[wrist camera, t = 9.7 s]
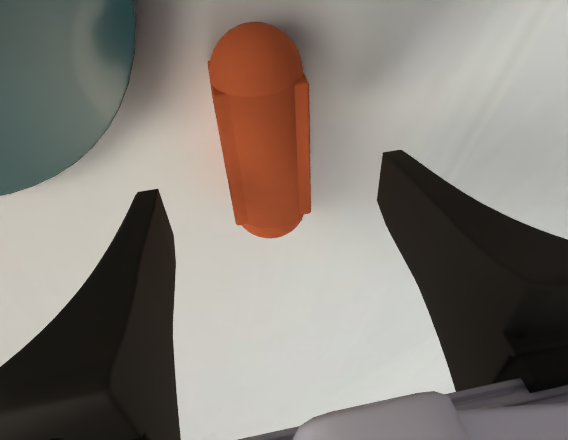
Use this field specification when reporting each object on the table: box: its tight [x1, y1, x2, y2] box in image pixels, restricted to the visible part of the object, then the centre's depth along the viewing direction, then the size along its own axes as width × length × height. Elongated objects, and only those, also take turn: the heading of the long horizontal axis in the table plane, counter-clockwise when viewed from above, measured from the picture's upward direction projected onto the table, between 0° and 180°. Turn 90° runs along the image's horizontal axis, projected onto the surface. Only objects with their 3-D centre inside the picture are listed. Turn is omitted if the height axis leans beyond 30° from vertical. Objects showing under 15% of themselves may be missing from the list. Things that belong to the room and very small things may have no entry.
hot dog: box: [208, 22, 311, 238], centre depth 16 cm, size 9×3×3 cm, turn 3°
